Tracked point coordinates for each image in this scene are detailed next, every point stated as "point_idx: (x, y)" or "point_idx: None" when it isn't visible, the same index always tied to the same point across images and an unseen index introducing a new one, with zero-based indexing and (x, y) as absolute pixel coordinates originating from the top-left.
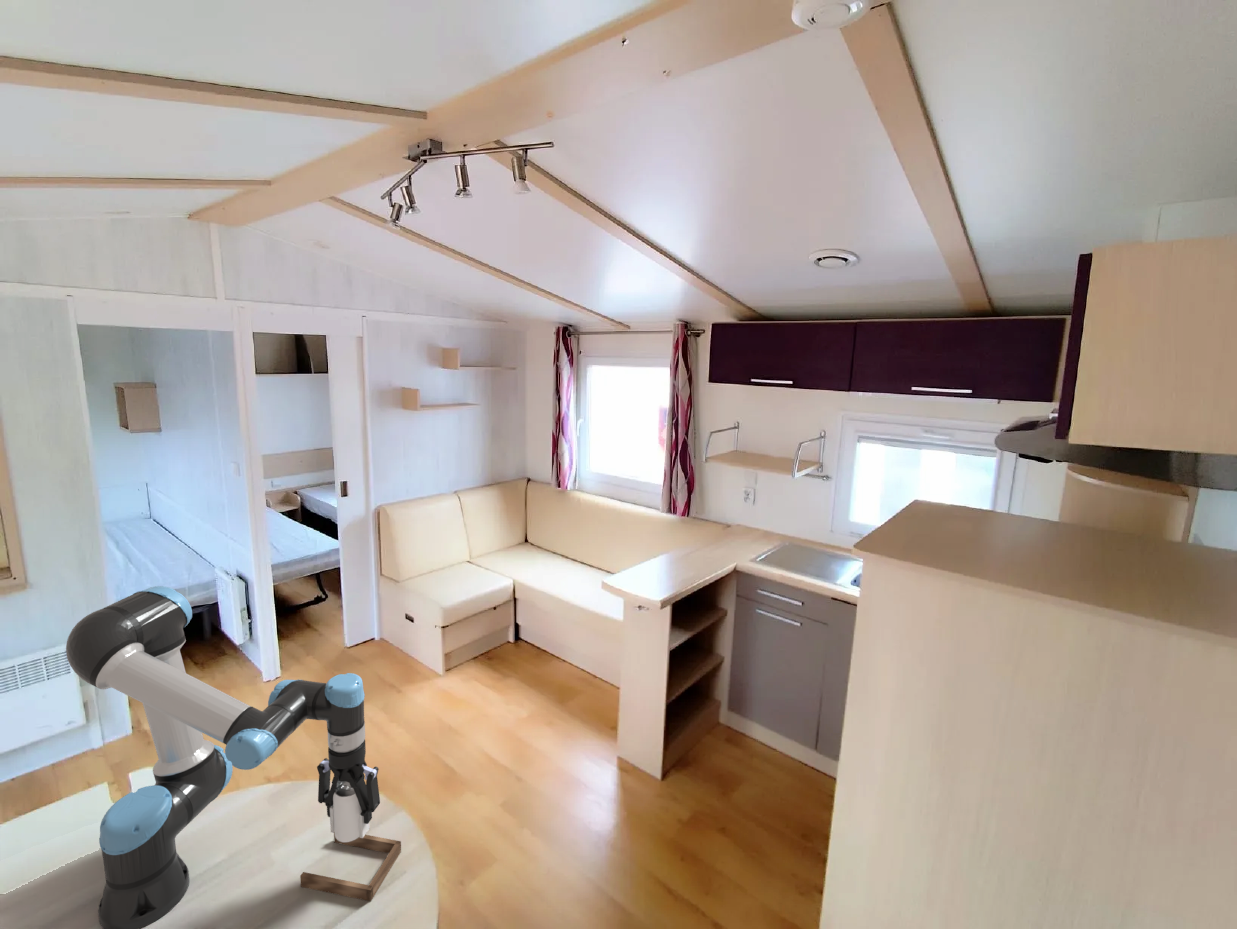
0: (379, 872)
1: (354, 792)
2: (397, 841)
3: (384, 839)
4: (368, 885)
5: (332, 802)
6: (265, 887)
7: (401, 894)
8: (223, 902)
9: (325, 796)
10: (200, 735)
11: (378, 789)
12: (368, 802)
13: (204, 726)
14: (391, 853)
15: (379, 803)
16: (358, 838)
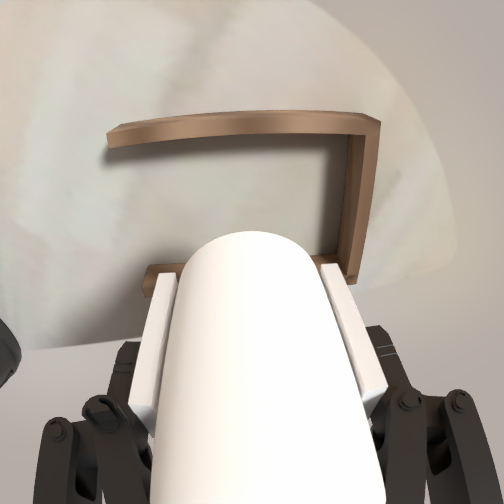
0: (359, 238)
1: None
2: (369, 123)
3: (319, 122)
4: (345, 275)
5: (143, 440)
6: (85, 290)
7: (406, 231)
8: (56, 324)
9: (90, 462)
10: None
11: (498, 484)
12: (427, 481)
13: None
14: (369, 172)
15: (467, 398)
16: (212, 135)
